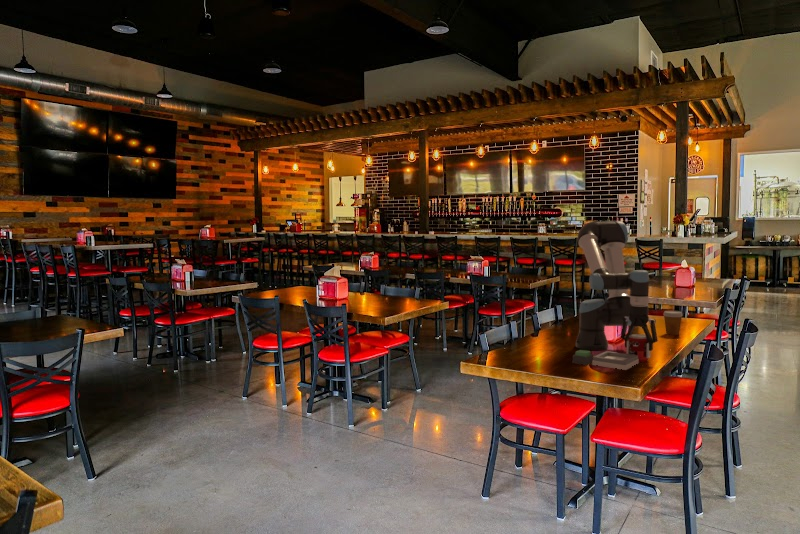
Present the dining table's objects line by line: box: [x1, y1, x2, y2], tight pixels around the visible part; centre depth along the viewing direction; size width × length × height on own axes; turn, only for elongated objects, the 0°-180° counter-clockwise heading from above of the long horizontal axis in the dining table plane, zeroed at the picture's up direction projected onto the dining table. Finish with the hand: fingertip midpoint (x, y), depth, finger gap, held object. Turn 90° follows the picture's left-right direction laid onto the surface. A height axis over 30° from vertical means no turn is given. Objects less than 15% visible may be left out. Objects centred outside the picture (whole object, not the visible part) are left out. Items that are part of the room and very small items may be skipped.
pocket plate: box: [591, 350, 640, 371], centre depth 249 cm, size 14×14×4 cm
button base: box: [571, 353, 594, 366], centre depth 253 cm, size 7×7×4 cm
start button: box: [574, 349, 592, 357], centre depth 253 cm, size 5×5×3 cm
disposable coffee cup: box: [662, 310, 684, 336], centre depth 309 cm, size 10×10×12 cm
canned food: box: [629, 333, 649, 363], centre depth 255 cm, size 8×8×11 cm
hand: (638, 356), depth 255 cm, fingers closed on canned food, 8 cm apart
